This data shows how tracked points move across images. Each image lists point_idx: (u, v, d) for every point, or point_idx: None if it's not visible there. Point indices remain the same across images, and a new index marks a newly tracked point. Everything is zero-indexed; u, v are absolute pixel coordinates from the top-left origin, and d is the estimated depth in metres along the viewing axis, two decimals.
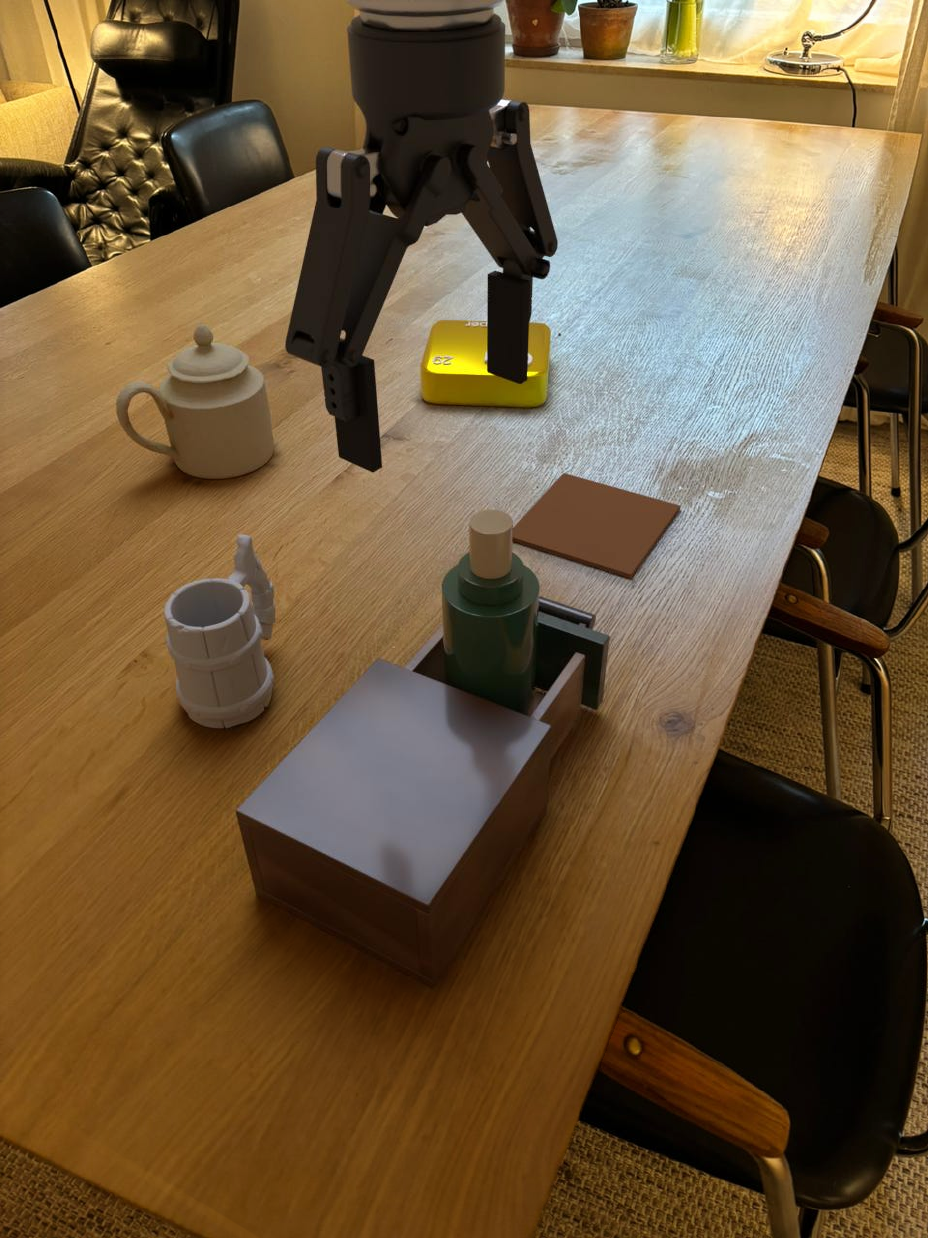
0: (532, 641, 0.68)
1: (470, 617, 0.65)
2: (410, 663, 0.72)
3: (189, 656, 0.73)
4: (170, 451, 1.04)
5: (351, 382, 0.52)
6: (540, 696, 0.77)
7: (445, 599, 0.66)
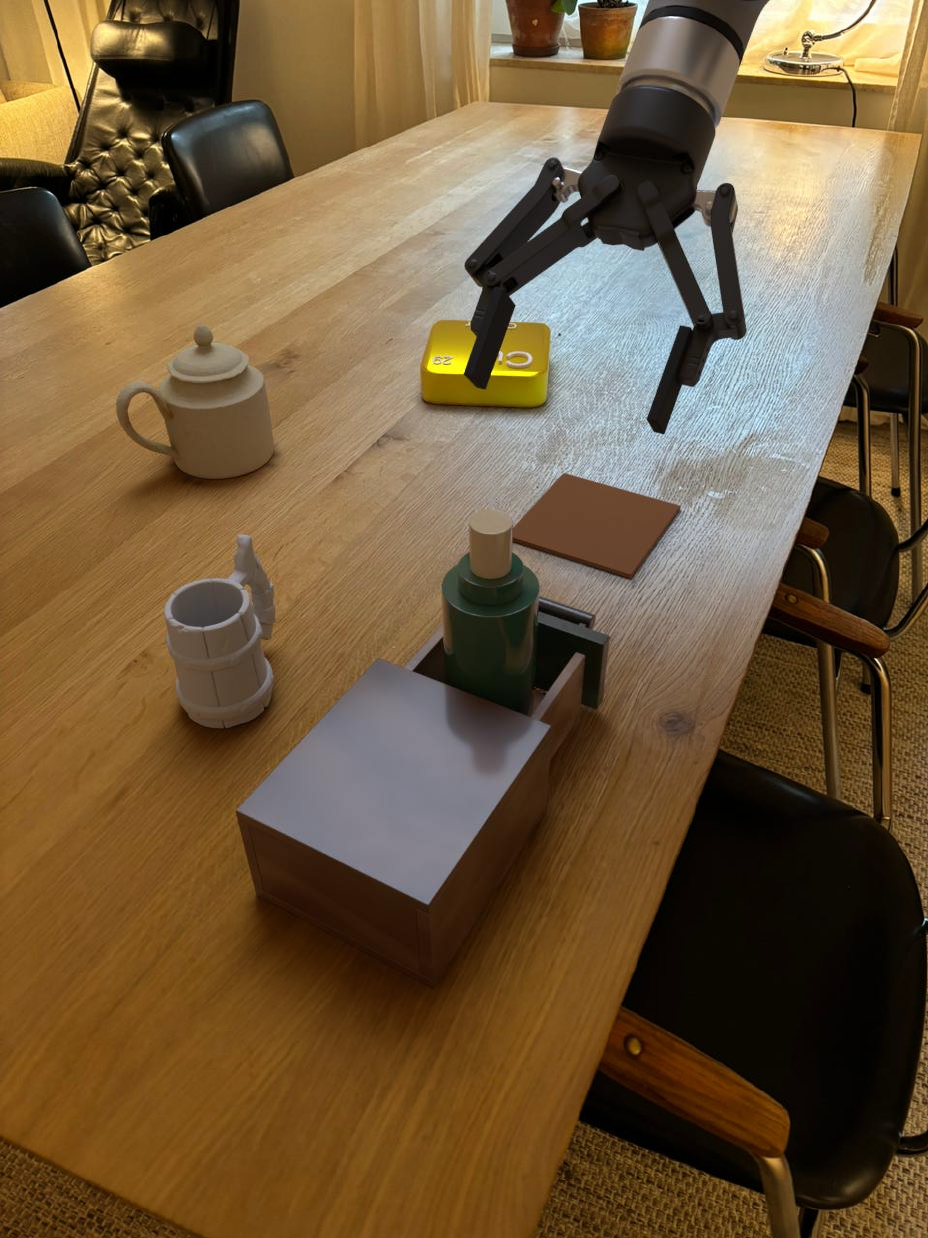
0: (532, 641, 0.68)
1: (470, 617, 0.65)
2: (410, 663, 0.72)
3: (189, 656, 0.73)
4: (170, 451, 1.04)
5: (487, 303, 0.70)
6: (540, 696, 0.77)
7: (445, 599, 0.66)
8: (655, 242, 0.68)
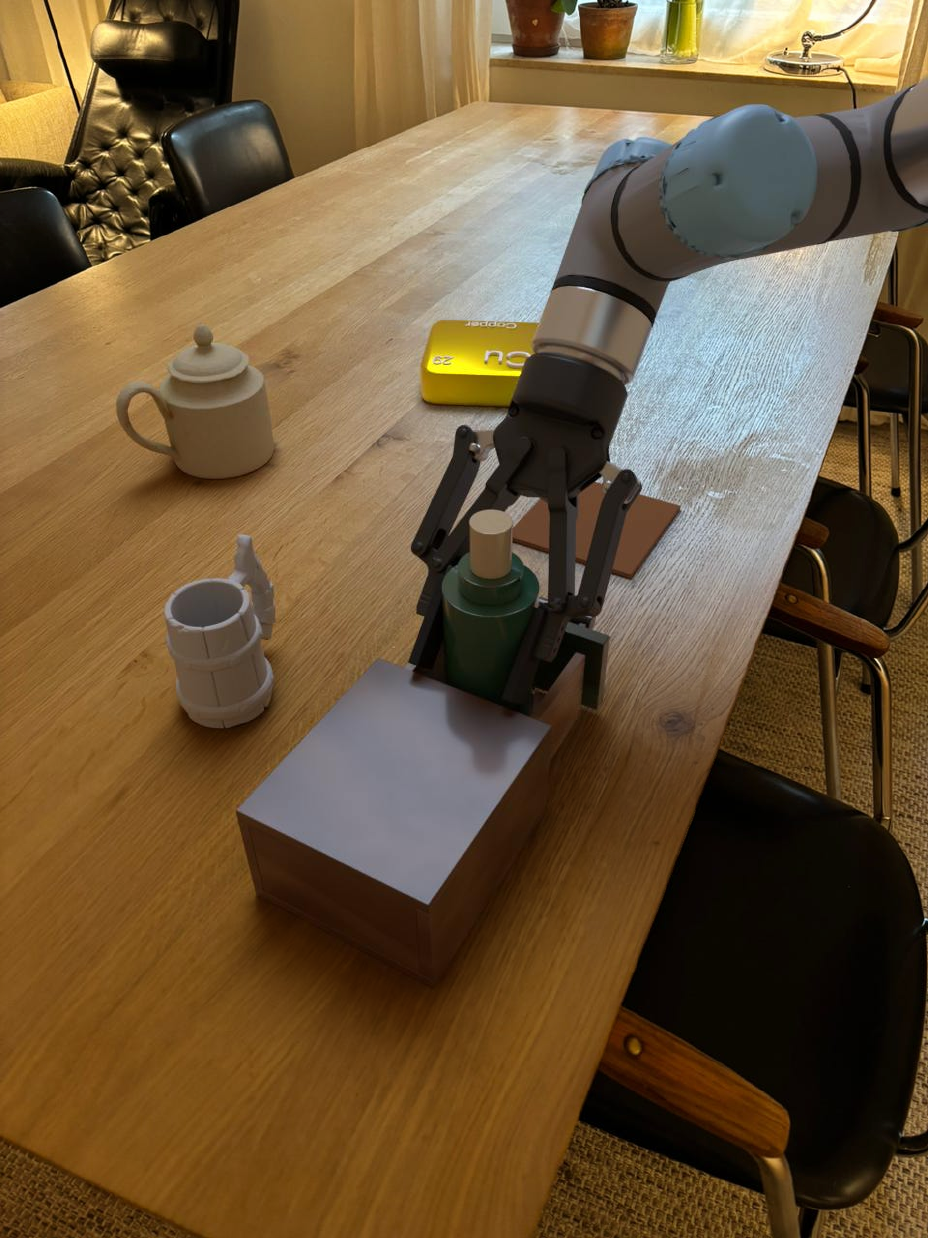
0: None
1: (470, 616, 0.65)
2: None
3: (189, 656, 0.73)
4: (170, 451, 1.04)
5: (433, 588, 0.69)
6: (540, 696, 0.77)
7: (445, 599, 0.66)
8: (567, 500, 0.68)
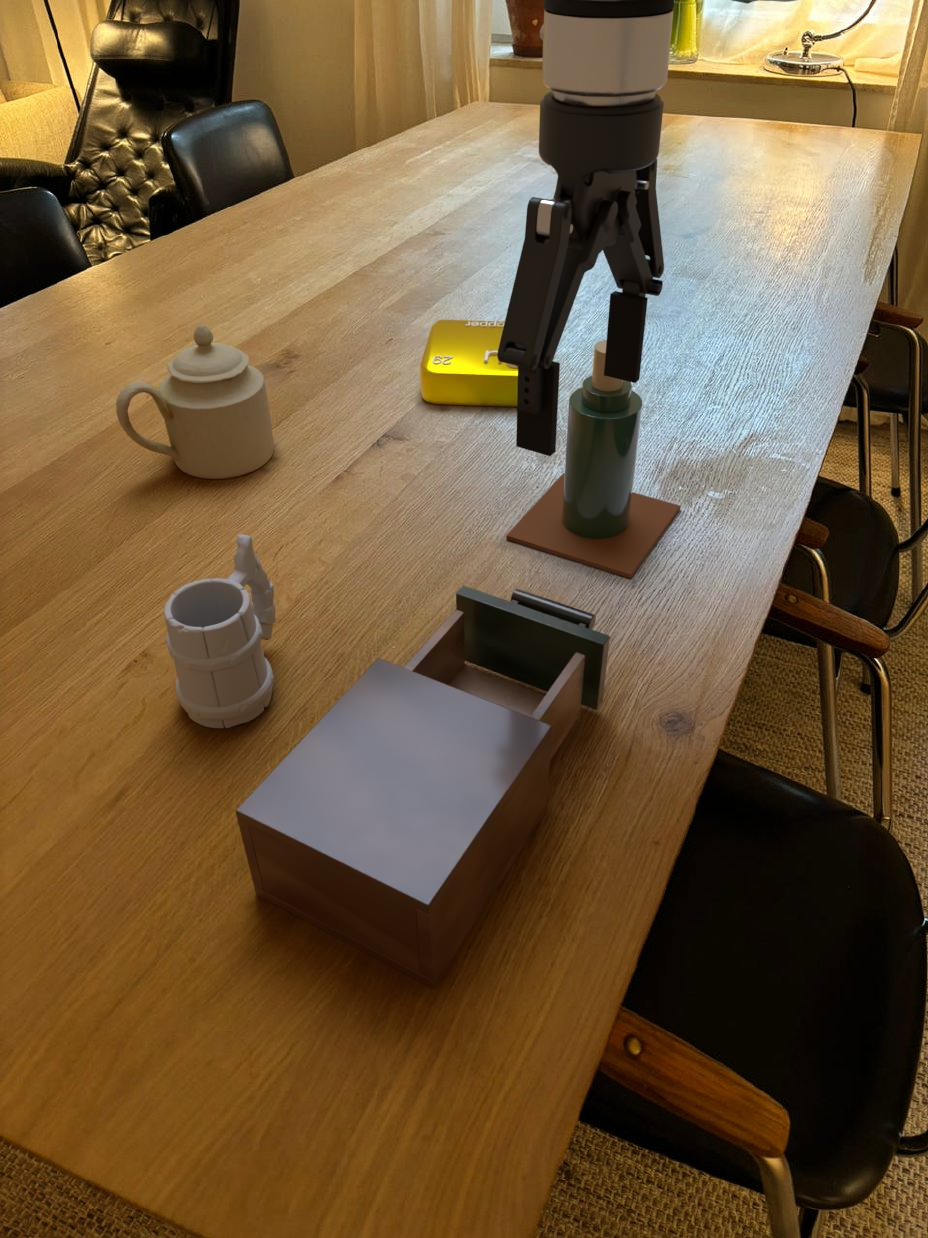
0: (635, 444, 0.91)
1: (593, 419, 0.88)
2: (410, 663, 0.72)
3: (189, 656, 0.73)
4: (170, 451, 1.04)
5: (542, 382, 0.65)
6: (540, 696, 0.77)
7: (573, 408, 0.89)
8: None
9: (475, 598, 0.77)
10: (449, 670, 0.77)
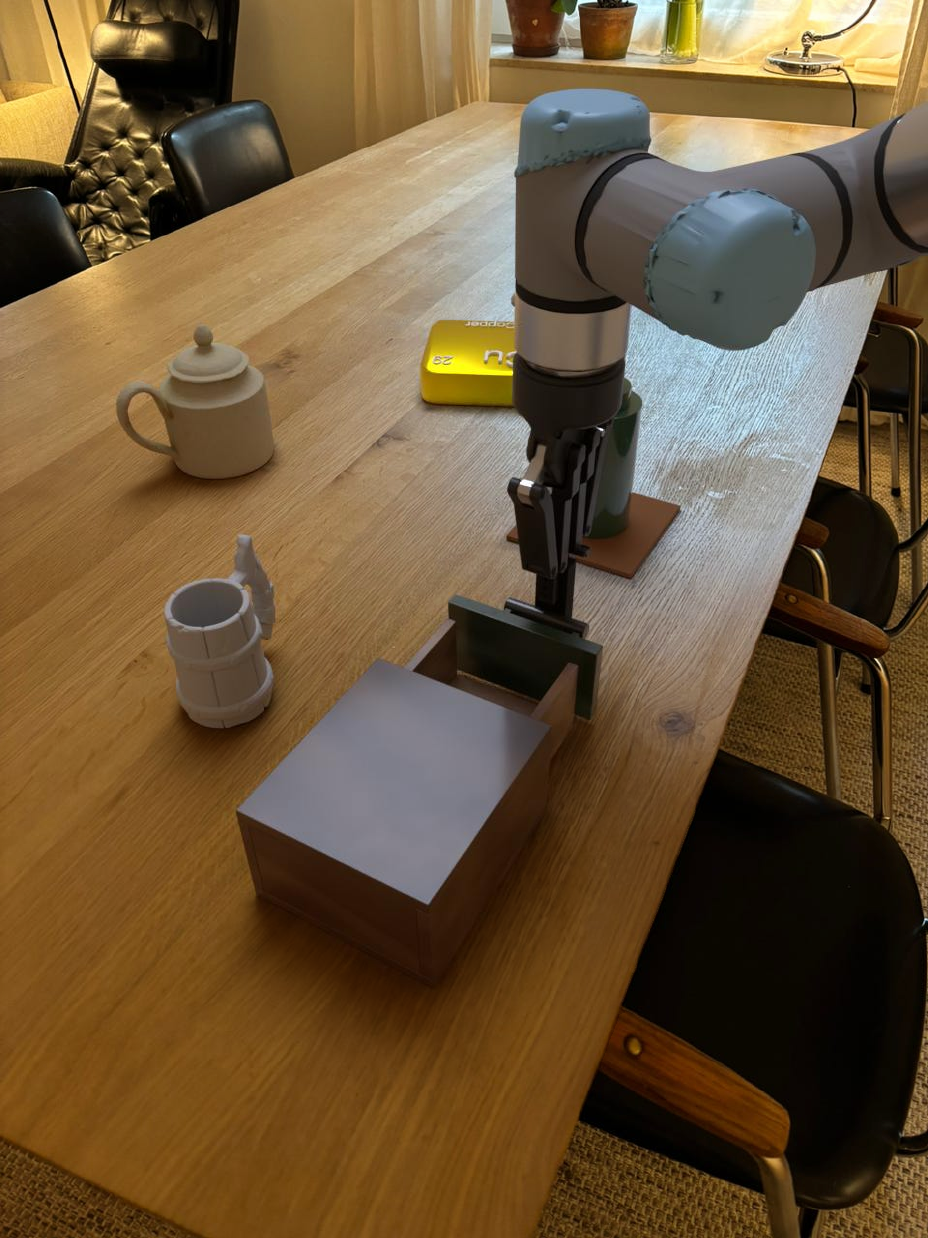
0: (635, 444, 0.91)
1: None
2: None
3: (189, 656, 0.73)
4: (170, 451, 1.04)
5: (558, 580, 0.77)
6: (533, 706, 0.76)
7: None
8: None
9: (467, 607, 0.76)
10: (441, 680, 0.77)
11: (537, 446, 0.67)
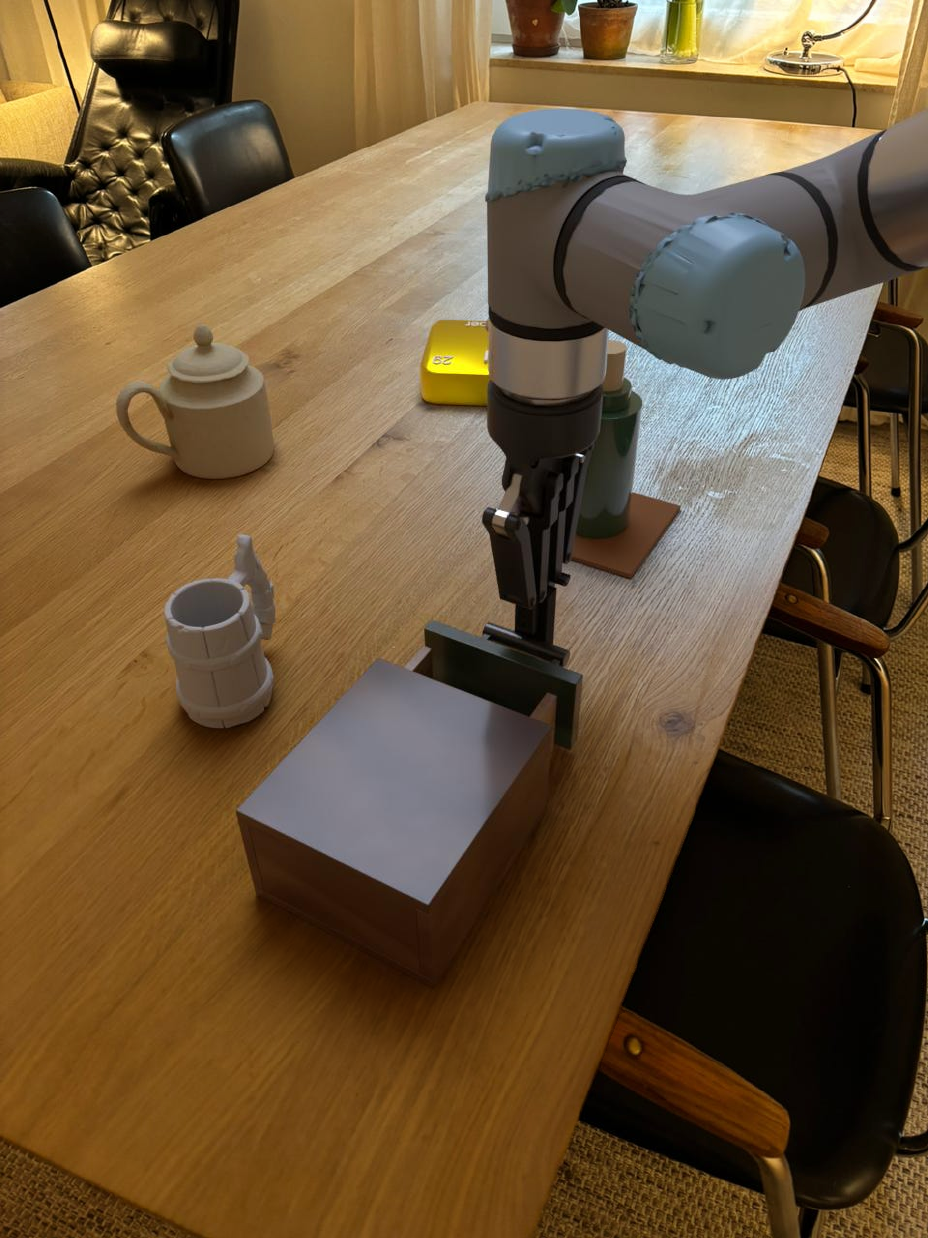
0: (635, 444, 0.91)
1: None
2: None
3: (189, 656, 0.73)
4: (170, 451, 1.04)
5: (537, 609, 0.74)
6: None
7: None
8: None
9: (444, 633, 0.74)
10: None
11: (513, 475, 0.65)
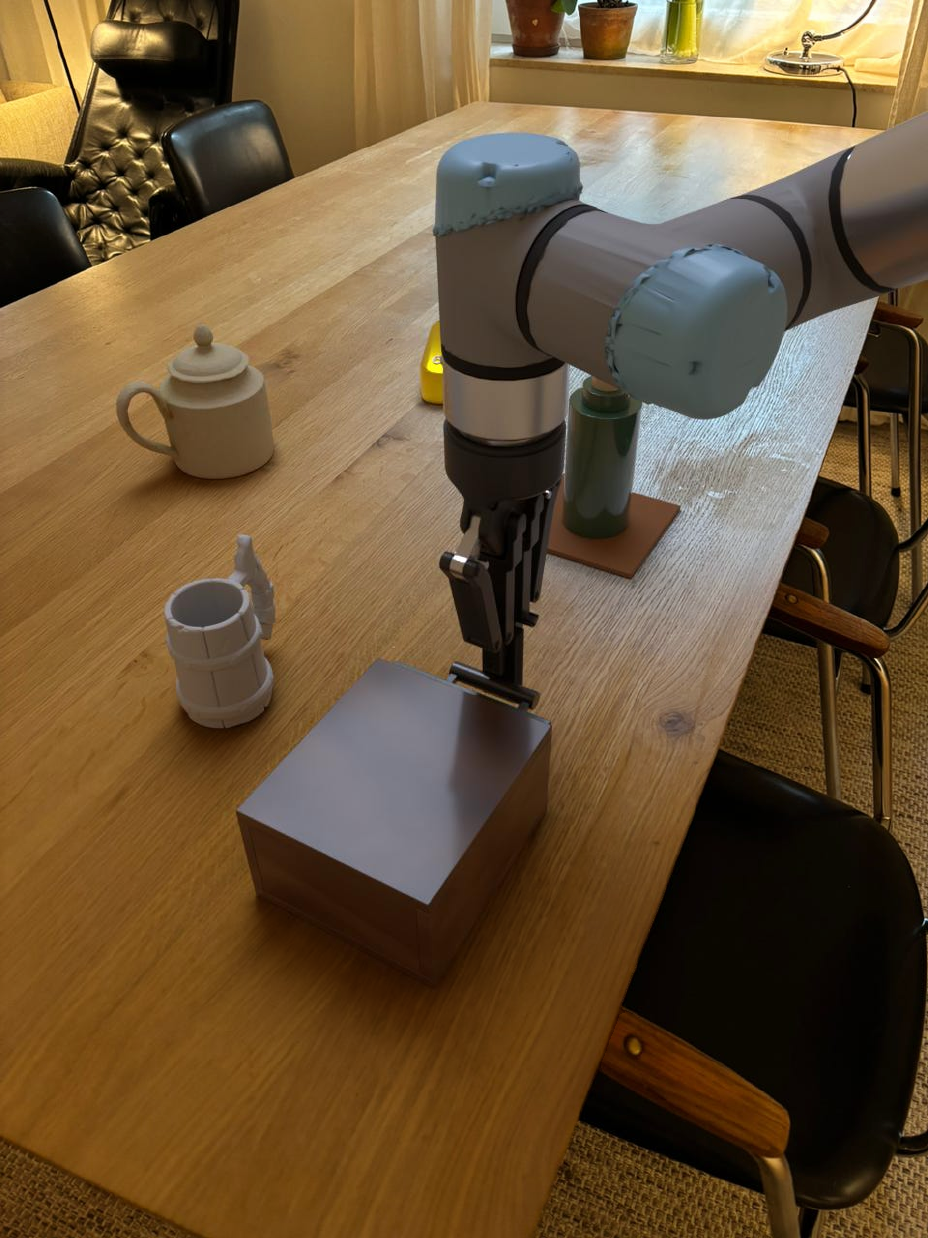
0: (635, 444, 0.91)
1: (593, 419, 0.88)
2: None
3: (189, 656, 0.73)
4: (170, 451, 1.04)
5: (504, 650, 0.71)
6: None
7: (573, 408, 0.89)
8: None
9: None
10: None
11: (471, 517, 0.61)
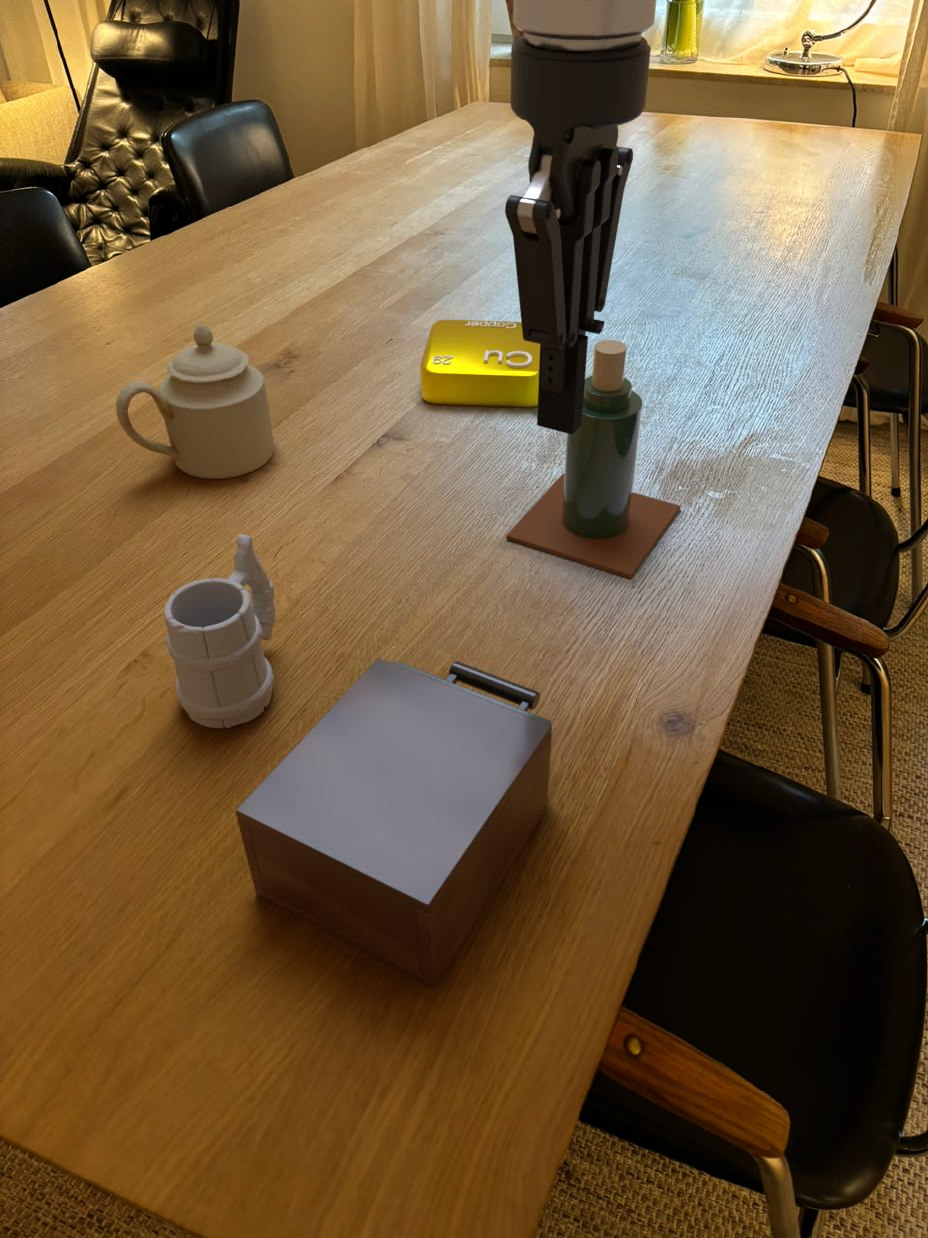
0: (635, 444, 0.91)
1: (593, 419, 0.88)
2: None
3: (189, 656, 0.73)
4: (170, 451, 1.04)
5: (565, 360, 0.64)
6: None
7: None
8: None
9: None
10: None
11: (542, 156, 0.54)
